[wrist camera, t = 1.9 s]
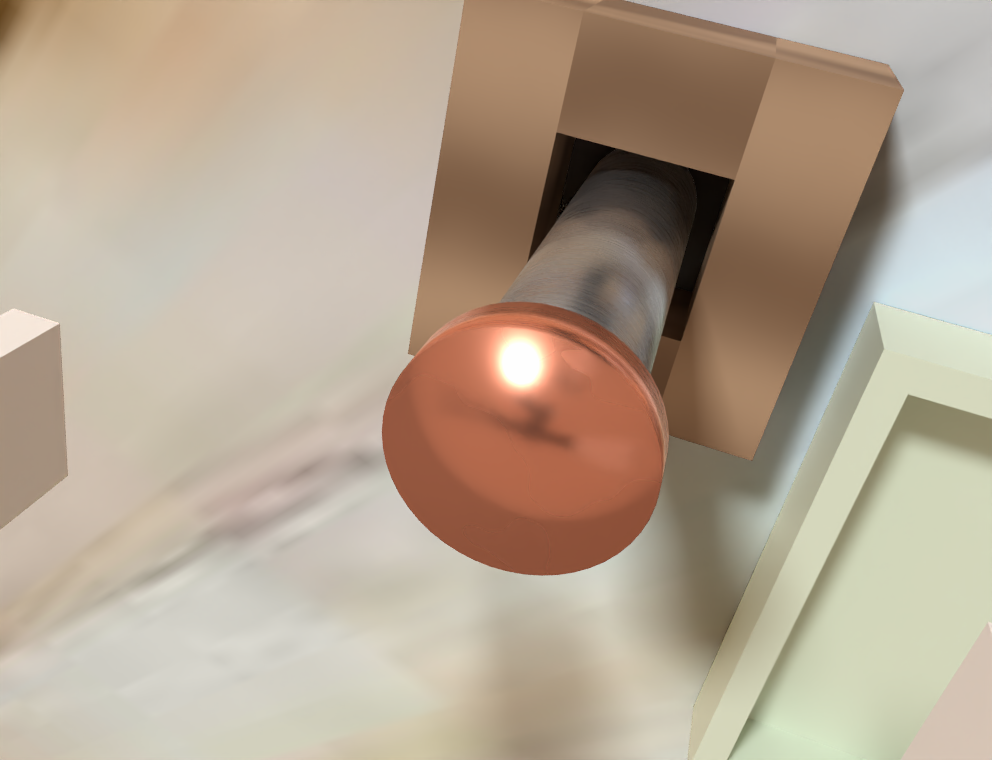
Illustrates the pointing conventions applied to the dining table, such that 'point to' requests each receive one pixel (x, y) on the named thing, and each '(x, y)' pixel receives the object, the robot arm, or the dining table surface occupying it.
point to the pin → (552, 386)
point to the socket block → (668, 137)
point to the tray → (867, 560)
